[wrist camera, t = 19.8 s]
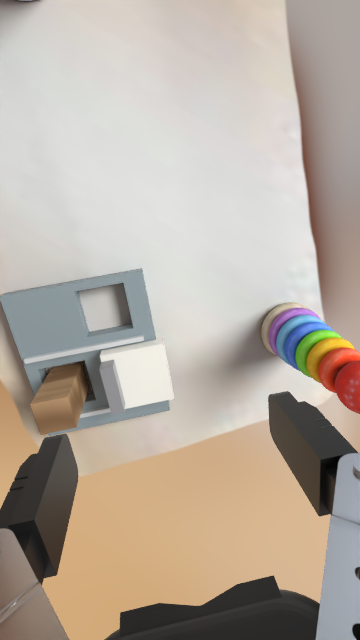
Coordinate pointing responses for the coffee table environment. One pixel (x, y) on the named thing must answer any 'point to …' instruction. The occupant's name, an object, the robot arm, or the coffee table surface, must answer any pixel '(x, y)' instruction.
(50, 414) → the walnut post
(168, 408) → the puzzle board
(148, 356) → the lid
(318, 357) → the stacking toy
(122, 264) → the coffee table surface
